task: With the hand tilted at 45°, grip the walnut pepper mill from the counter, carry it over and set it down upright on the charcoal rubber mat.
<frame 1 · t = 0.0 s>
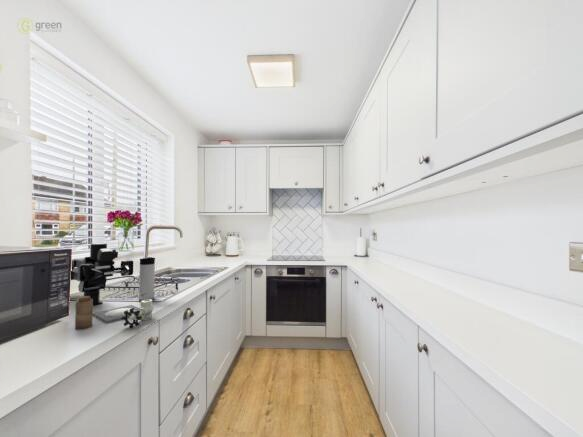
hand: (115, 272, 104), 17 cm above the counter, tool horizontal, fingers open, 9 cm apart
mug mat: (120, 314, 105), on the counter
valve: (140, 322, 97), on the counter
travel mug: (146, 300, 125), on the counter
pepper mill: (83, 327, 91), on the counter
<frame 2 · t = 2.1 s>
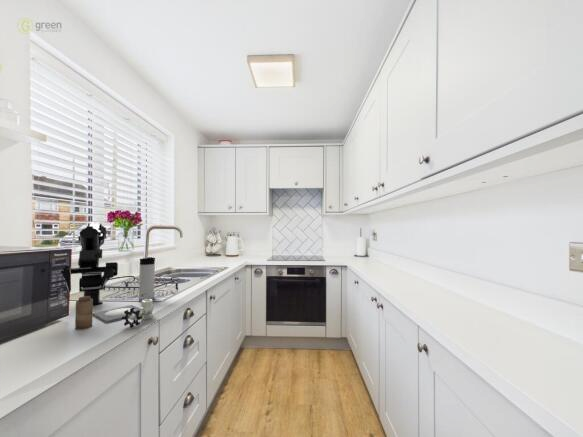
hand: (86, 289, 96), 12 cm above the counter, tool tilted 45°, fingers open, 9 cm apart
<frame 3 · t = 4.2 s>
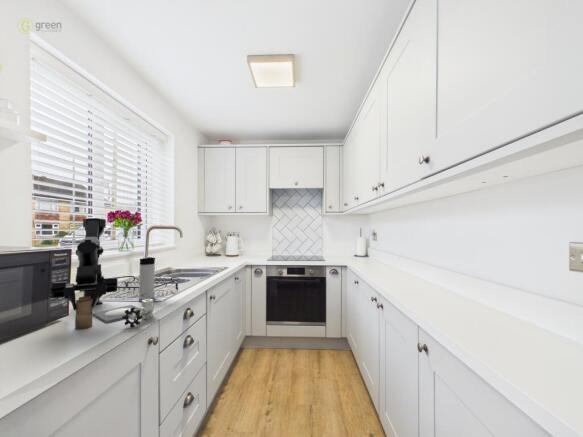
hand: (83, 308, 90), 7 cm above the counter, tool tilted 45°, fingers closed on pepper mill, 5 cm apart
pepper mill: (83, 327, 91), on the counter, touching gripper
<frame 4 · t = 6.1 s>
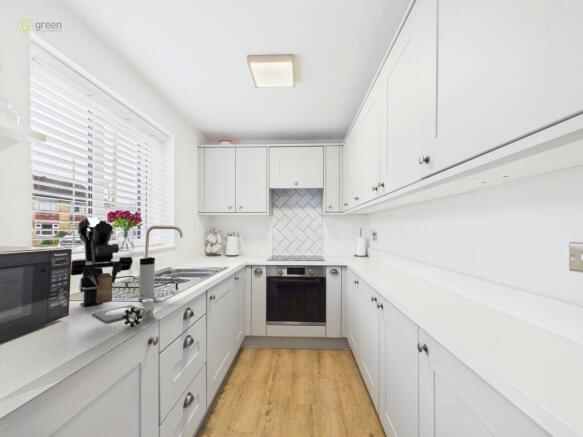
hand: (105, 283, 97), 13 cm above the counter, tool tilted 45°, fingers closed on pepper mill, 5 cm apart
pepper mill: (104, 301, 98), point 7 cm above the counter, touching gripper
when the fingers open (9 cm above the counter, at t = 8.1 s): pepper mill drops 2 cm, resting on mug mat.
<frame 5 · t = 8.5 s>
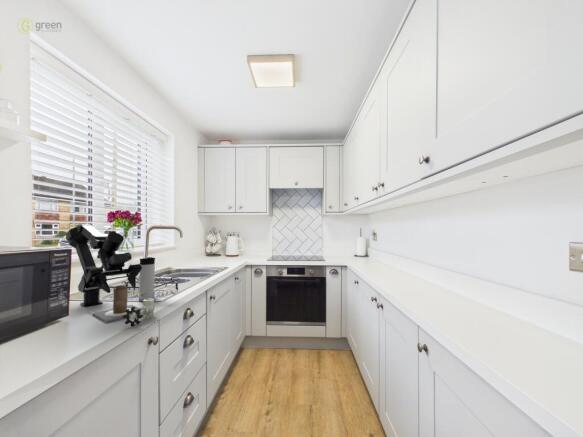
hand: (122, 290, 104), 10 cm above the counter, tool tilted 45°, fingers open, 9 cm apart
pepper mill: (120, 311, 105), point 1 cm above the counter, touching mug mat
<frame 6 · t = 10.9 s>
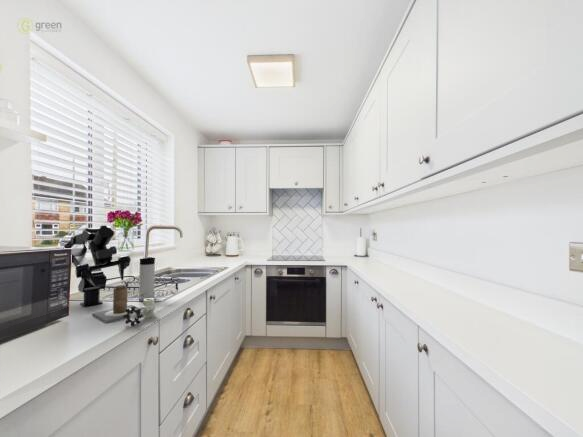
hand: (109, 283, 109), 11 cm above the counter, tool tilted 40°, fingers open, 9 cm apart
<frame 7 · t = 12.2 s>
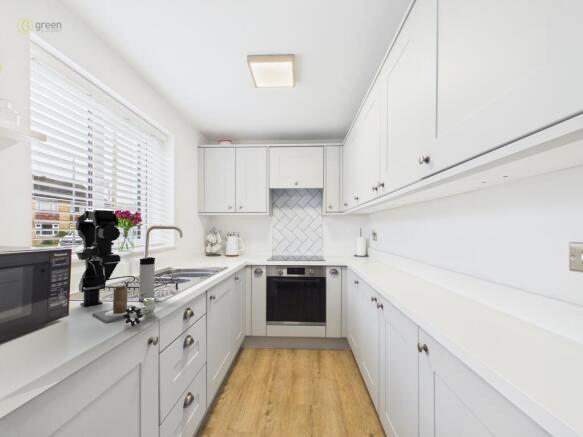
hand: (102, 278, 109), 13 cm above the counter, tool pointing down, fingers open, 9 cm apart
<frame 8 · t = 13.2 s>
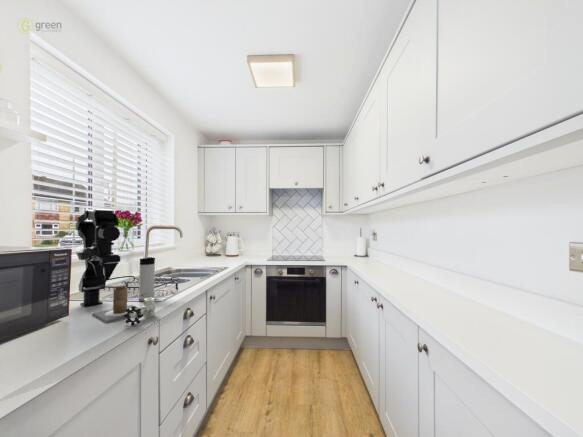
hand: (102, 278, 109), 13 cm above the counter, tool pointing down, fingers open, 9 cm apart
at the end: pepper mill inside the target area on the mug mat (0.0 cm from its centre), point 0.9 cm above the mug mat's base; pepper mill tilted 0°; the gripper is holding nothing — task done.
